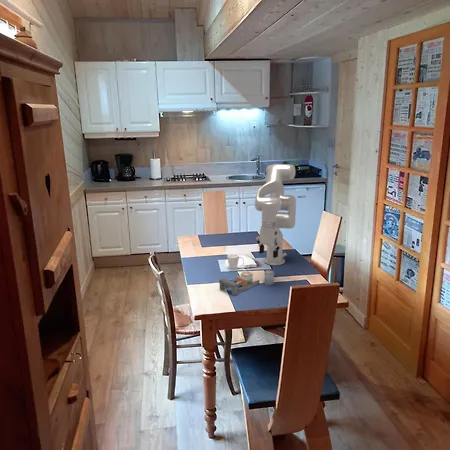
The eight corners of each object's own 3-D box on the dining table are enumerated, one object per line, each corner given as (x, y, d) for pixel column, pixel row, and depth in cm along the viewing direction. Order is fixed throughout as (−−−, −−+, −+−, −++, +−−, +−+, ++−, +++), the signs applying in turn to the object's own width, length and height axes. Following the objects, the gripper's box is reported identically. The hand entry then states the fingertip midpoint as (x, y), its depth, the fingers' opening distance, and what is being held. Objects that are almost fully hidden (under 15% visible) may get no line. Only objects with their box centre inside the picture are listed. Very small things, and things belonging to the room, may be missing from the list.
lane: (245, 278, 235) (245, 269, 233) (259, 283, 228) (259, 274, 226) (219, 289, 222) (219, 279, 220) (233, 295, 214) (233, 285, 213)
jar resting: (246, 280, 233) (246, 270, 231) (255, 283, 228) (255, 273, 226) (238, 283, 228) (238, 273, 227) (246, 287, 224) (246, 276, 222)
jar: (268, 280, 232) (268, 269, 230) (275, 283, 228) (275, 271, 226) (262, 283, 228) (262, 271, 226) (269, 286, 225) (269, 274, 223)
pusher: (237, 283, 228) (237, 276, 227) (247, 287, 223) (247, 279, 222) (224, 288, 222) (224, 281, 221) (234, 292, 217) (234, 285, 216)
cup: (227, 266, 253) (226, 253, 251) (243, 265, 253) (243, 253, 251) (227, 270, 246) (227, 257, 244) (244, 270, 247) (244, 257, 244)
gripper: (286, 226, 215) (285, 257, 220) (261, 219, 227) (261, 249, 232) (277, 229, 210) (276, 260, 215) (252, 222, 222) (251, 252, 227)
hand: (268, 255), depth 223 cm, fingers open, 9 cm apart
